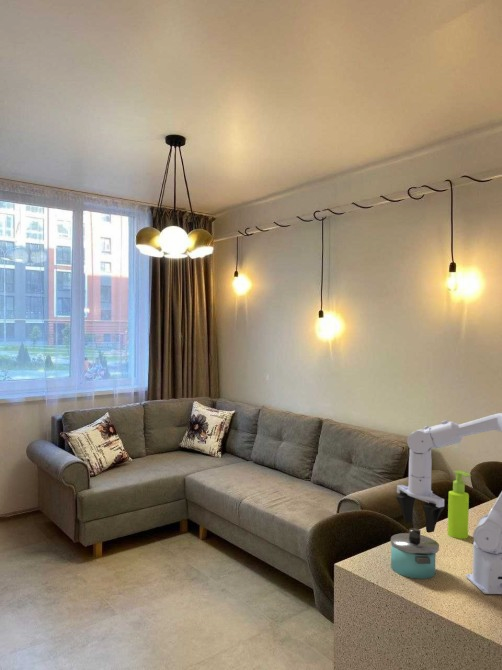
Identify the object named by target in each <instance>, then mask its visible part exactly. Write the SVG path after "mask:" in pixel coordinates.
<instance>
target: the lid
mask: <svg viewBox="0 0 502 670" xmlns="http://www.w3.org/2000/svg"><path fill="white" fill-rule="evenodd" d="M408 530H409V531H408V532H401V533H397V534H394V535H391V537H390V545H392V546H393V547H395V548H396V549H398V550H400V551H403V552H406V553H410V554H416V555H431V554H435V553H436V554H437V553H438V552H440V545H439V543H438V542H437V541H436V540H435V539H434V538H431V537H428V536H425V535H422V534H421V529H418V528H416V527H415V528H414V527H412V528H409V529H408Z"/></svg>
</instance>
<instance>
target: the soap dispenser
mask: <svg viewBox="0 0 502 670" xmlns="http://www.w3.org/2000/svg"><path fill="white" fill-rule="evenodd" d="M453 473H454V474H455V480H453V481H452V490H449V491H448V499H447V501H448V504H447V510H448V511H447V535H448V536H449V537H451V538H454V539H460V540H461V539H462V540H465V539H466V540H467V538H469V509H470V507H469V506H470V505H469V503H470V501H469V500H470V499H469V498H470V495H469V493H468V492H466V491H465V490H466V489H465V488H466V487H465V486H466V484H465V483H466V482H464V481H463V476H464V477H465V478H467V477H472V475H471V474H470V473H468V472H466V471H463V470H458V469H457V470H453Z"/></svg>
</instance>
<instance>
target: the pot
mask: <svg viewBox="0 0 502 670" xmlns="http://www.w3.org/2000/svg"><path fill="white" fill-rule="evenodd" d="M390 545H391V544H390ZM390 548H391V550H390V551H391V552H390V554H391V555H390V568H391V569H392V571H393V572H395V573H397V574H398V575H400V576H403V577H406V578H410V579H417V580H418V579H419V580H425V579H426V580H427V579H430V578H433V577H434V576H435V575H436V556H437V555H436V554H437V553H435V554H431V555H416V554H410V553H406V552H403V551H400V550H398V549H396V548H395V547H393V546H392V545H391V546H390Z"/></svg>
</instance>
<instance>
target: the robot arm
mask: <svg viewBox="0 0 502 670" xmlns="http://www.w3.org/2000/svg"><path fill="white" fill-rule="evenodd" d="M490 431H498V432H501V433H502V412H497V413H495V414H491V415H487V416H484V417H481V418H477V419H474V420H470V421H467V422H464V423H456V422H455V421H452V420H451V421H448V419H445V420H442V421H441V423H440V424H436V425H432V426H429V425H426V426H424V427H423V428H421V429H419V428H418V429H417V430H414V431H413V432H411V433H410V434H409V435H408V437H407V440H406V443H407V447H408V448H409V457H408V485H404V484H399V485H396V493H398V494H397V495H396V496H395V498H396V500H397V502H398V504H399V507H400V509H401V513H402V518H403V522H404V523H405V524H409V523H412V522H413V515H414V514H413V512H414V506H415V501H416V499H417V500H420V501H422V502H425V503H428V504H423V505H422V508H423V511H424V517H425V530H426V533H428V534H429V533H433V532H435V528H436V526H437V522H438V520H439V517H440V515H441V514H442V512H443V511H444V509H445V498H442V497H440V496H438V495H436V494H435V493H433V490H432V467H433V465H432V463H433V461H432V449H440V448H445V447H448V446H453V445H456V444H460V443H461V441H462V439H463V438H464V437H467V436H471V435H476V434H481V433H485V432H490ZM472 537H473V543H472V544H473V545H472V547H473V550H472V573H470V574H467V573H466V574H465V577H466V578H467V579H468V580H469V581H470V582H471V583H472V584H473V585H474V586H475V587H477V588H478V589H479V590H480V591H481V592H482V593H483V594H484V595H502V491H501V492H500V493H499V495H498V497H497V499H496V500H495V502H494V504H493V505H492V507H491V509H490V510H489V512H488V513H487V514H486V515H484V516H482V517H481V518H480V519H479V520H478V523H477V526H476V527H475V529H474V530H473V534H472Z"/></svg>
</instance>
